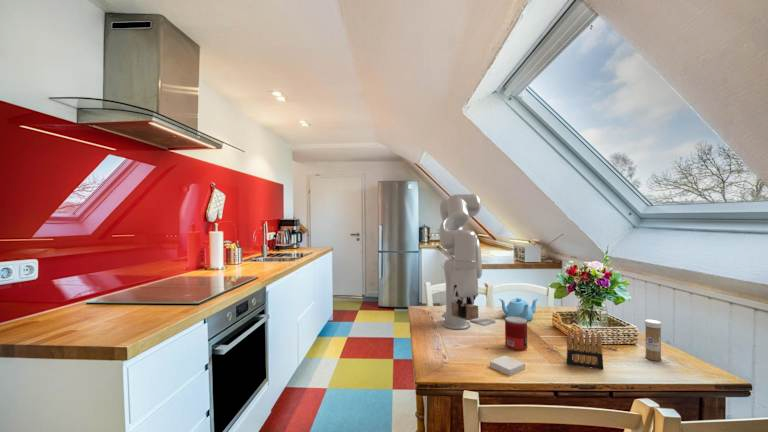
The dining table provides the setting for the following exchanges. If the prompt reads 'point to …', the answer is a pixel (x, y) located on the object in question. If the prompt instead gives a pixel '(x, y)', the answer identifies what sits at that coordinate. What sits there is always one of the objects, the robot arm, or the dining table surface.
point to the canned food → (516, 333)
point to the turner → (471, 314)
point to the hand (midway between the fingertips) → (465, 315)
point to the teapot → (519, 308)
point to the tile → (507, 365)
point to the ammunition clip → (584, 351)
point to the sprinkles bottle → (653, 340)
